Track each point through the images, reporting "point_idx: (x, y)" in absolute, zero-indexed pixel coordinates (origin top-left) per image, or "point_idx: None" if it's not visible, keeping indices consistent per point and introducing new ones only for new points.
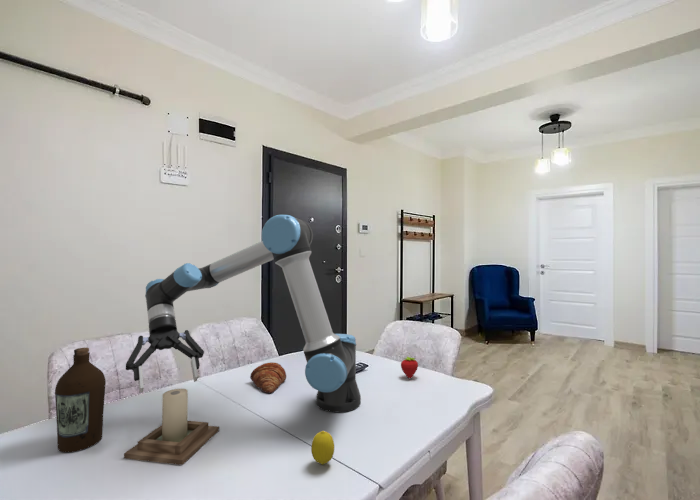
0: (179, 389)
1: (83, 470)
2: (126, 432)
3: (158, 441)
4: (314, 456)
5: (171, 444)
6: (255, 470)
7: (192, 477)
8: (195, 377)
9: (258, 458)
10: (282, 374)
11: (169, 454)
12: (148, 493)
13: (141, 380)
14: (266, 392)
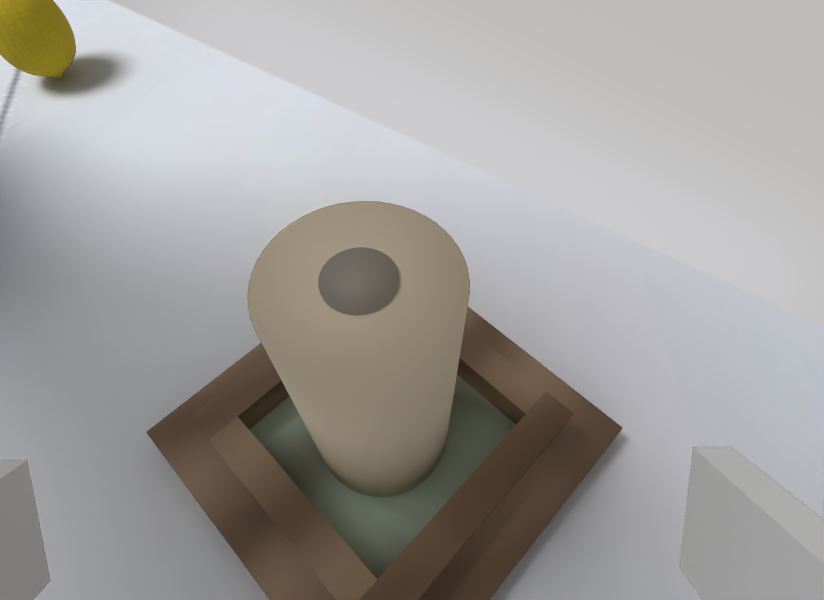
0: (302, 344)
1: (772, 432)
2: None
3: (471, 355)
4: (72, 36)
5: None
6: (211, 132)
7: (376, 186)
8: (26, 470)
9: (166, 171)
10: None
11: None
12: (502, 183)
13: (795, 519)
14: None
